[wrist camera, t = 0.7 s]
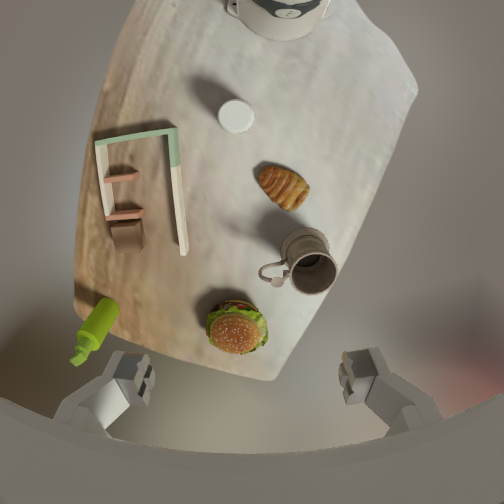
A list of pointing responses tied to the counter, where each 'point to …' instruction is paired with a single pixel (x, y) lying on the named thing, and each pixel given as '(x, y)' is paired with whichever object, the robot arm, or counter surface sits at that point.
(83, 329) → the soap dispenser
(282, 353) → the counter surface
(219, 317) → the food
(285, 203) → the pastry
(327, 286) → the mug
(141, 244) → the block
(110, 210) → the box
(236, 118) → the pill bottle
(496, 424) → the robot arm
